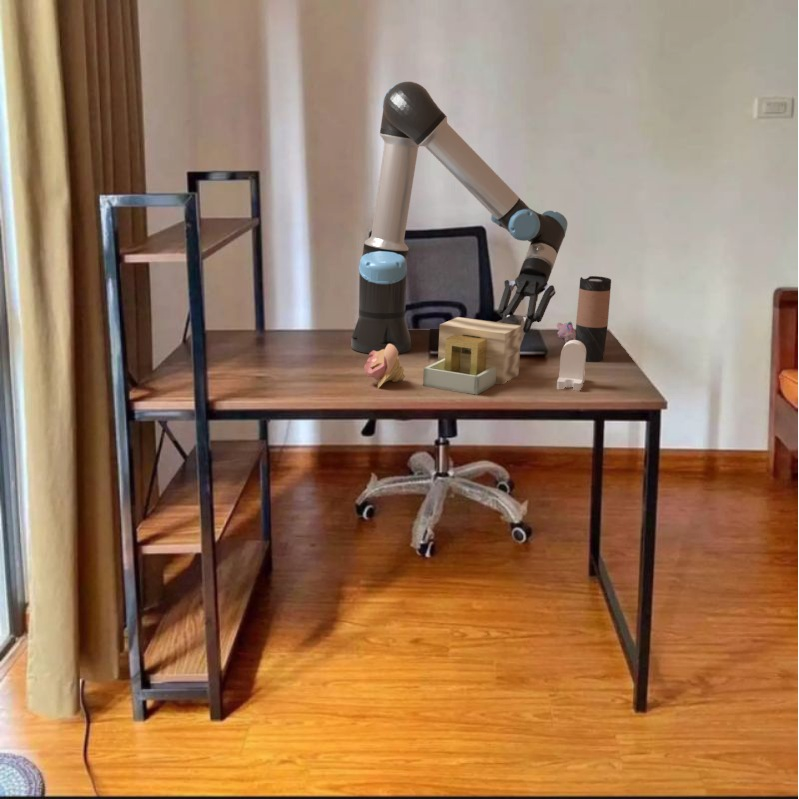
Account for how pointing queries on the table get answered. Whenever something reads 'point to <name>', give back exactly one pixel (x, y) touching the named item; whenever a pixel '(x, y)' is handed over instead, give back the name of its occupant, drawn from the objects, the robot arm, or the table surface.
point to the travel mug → (593, 316)
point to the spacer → (454, 352)
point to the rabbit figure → (566, 331)
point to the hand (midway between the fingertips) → (509, 340)
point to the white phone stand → (572, 365)
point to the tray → (458, 379)
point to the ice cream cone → (384, 365)
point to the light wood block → (498, 349)
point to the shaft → (508, 320)
